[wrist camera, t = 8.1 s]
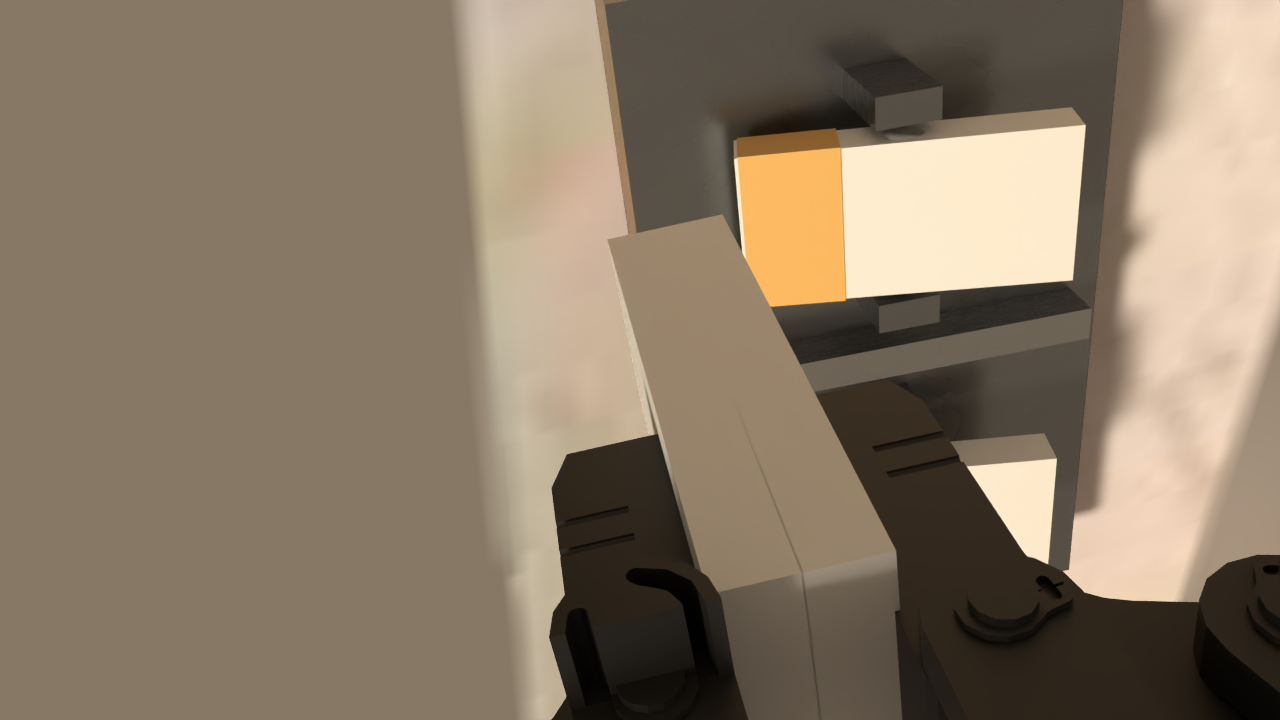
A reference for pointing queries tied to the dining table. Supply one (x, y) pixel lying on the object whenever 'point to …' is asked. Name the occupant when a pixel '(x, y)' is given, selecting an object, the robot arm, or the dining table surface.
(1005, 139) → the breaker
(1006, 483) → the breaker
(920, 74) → the breaker box
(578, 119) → the dining table surface
